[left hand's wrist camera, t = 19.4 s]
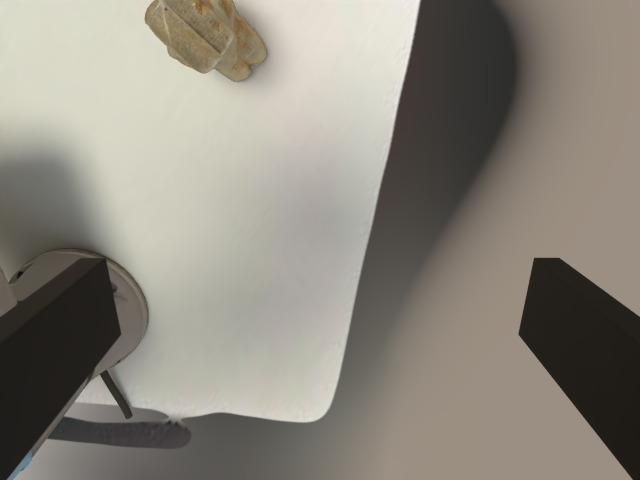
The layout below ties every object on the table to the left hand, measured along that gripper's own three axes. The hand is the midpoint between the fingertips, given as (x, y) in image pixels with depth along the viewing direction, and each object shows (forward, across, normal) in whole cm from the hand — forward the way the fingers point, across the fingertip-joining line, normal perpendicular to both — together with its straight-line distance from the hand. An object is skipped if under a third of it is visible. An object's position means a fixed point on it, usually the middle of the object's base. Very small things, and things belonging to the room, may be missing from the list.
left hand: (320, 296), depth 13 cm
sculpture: (+31, +8, -10) cm, 34 cm away
